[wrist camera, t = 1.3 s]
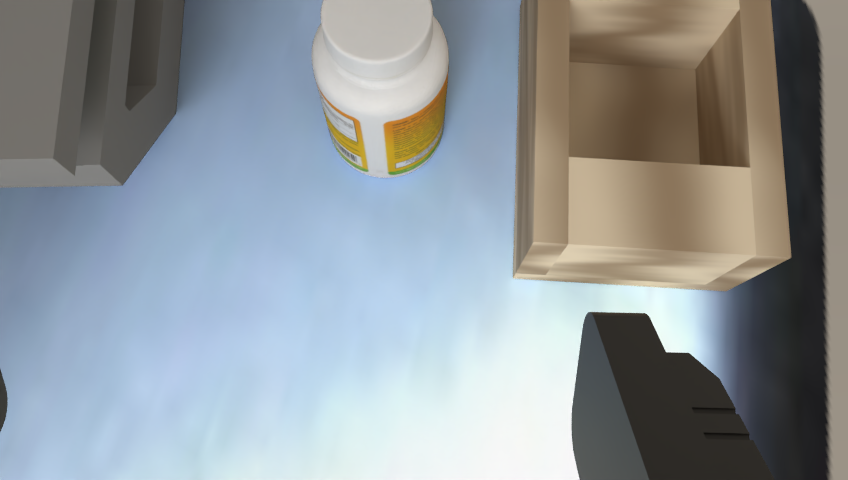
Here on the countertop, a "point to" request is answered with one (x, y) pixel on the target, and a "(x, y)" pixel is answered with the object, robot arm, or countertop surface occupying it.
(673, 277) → the post socket
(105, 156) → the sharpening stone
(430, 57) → the supplement bottle
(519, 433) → the countertop surface
